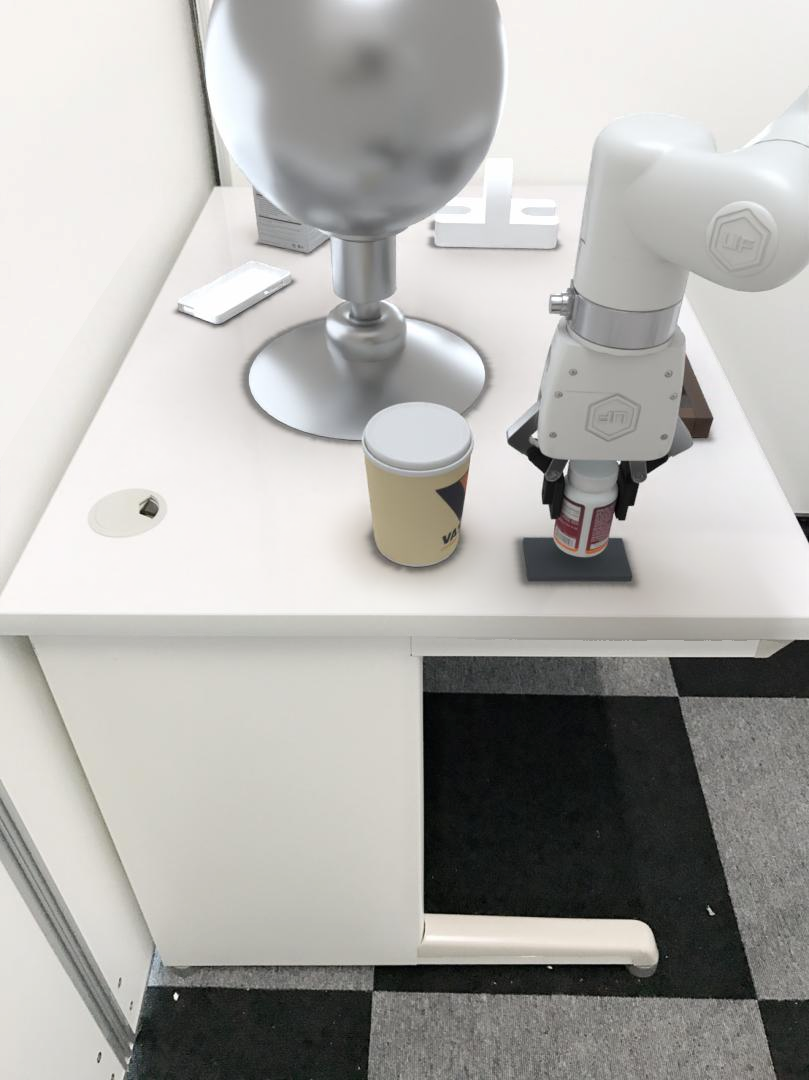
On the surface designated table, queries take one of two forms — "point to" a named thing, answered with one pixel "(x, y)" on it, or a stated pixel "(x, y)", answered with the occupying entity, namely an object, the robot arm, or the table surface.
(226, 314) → the phone case
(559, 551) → the pad
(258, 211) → the white product box
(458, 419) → the coffee cup
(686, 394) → the rack
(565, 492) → the pill bottle
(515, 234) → the white stand
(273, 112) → the silver goblet
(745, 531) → the table surface
